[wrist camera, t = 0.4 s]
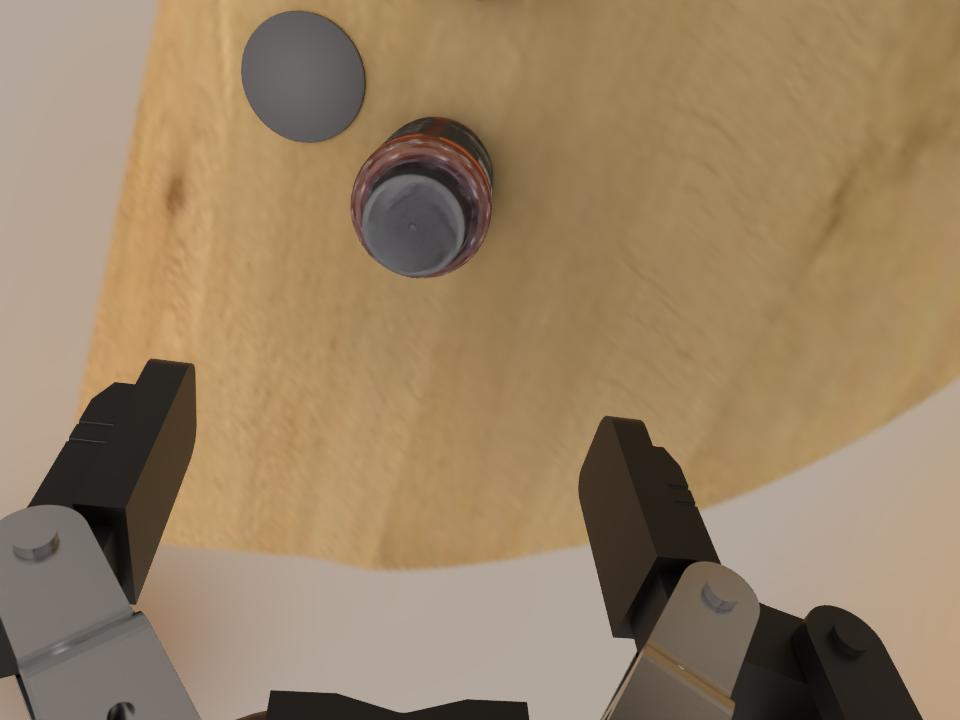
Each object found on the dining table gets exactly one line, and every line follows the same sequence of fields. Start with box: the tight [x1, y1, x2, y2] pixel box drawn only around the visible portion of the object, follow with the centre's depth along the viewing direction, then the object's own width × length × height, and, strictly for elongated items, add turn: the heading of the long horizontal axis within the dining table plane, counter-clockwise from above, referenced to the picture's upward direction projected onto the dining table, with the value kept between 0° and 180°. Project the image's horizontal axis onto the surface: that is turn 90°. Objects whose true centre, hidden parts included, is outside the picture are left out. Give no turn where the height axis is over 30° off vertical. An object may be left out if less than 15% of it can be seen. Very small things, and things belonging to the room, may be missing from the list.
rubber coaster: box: [241, 11, 365, 143], centre depth 35 cm, size 6×6×1 cm
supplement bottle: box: [351, 117, 493, 278], centre depth 32 cm, size 6×6×11 cm
